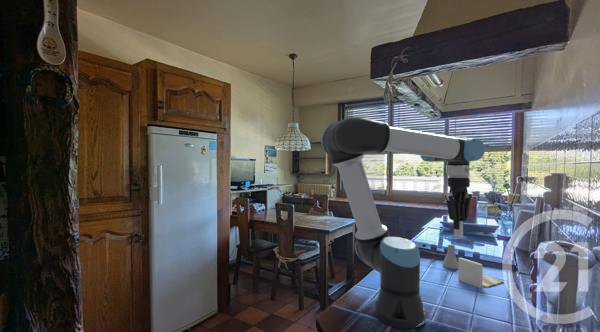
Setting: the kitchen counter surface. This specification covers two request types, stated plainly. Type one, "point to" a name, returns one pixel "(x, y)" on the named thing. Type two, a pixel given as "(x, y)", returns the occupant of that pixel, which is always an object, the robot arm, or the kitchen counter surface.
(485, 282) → the board
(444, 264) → the flask
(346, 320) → the kitchen counter surface
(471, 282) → the tile
